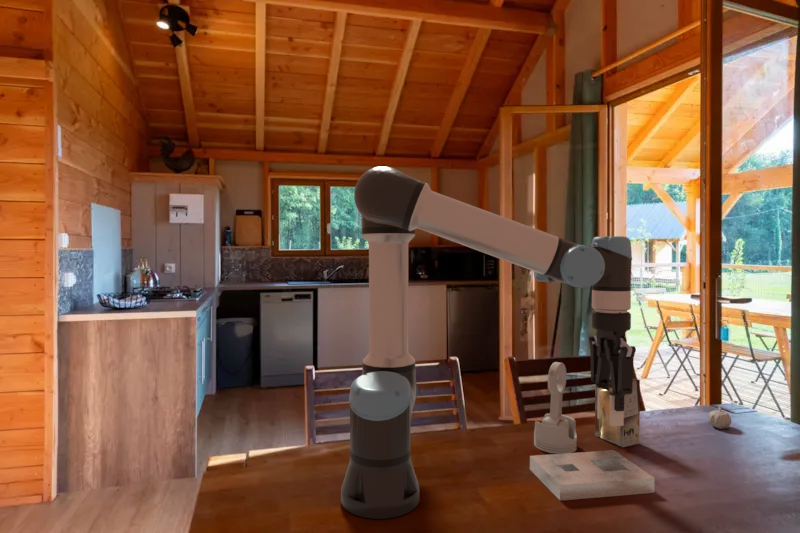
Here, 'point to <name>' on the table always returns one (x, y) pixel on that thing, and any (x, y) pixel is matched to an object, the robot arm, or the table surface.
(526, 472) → the table surface
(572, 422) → the engine component
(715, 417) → the garlic
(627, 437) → the coffee box
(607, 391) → the cylinder
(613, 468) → the white peg hole board
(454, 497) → the table surface
